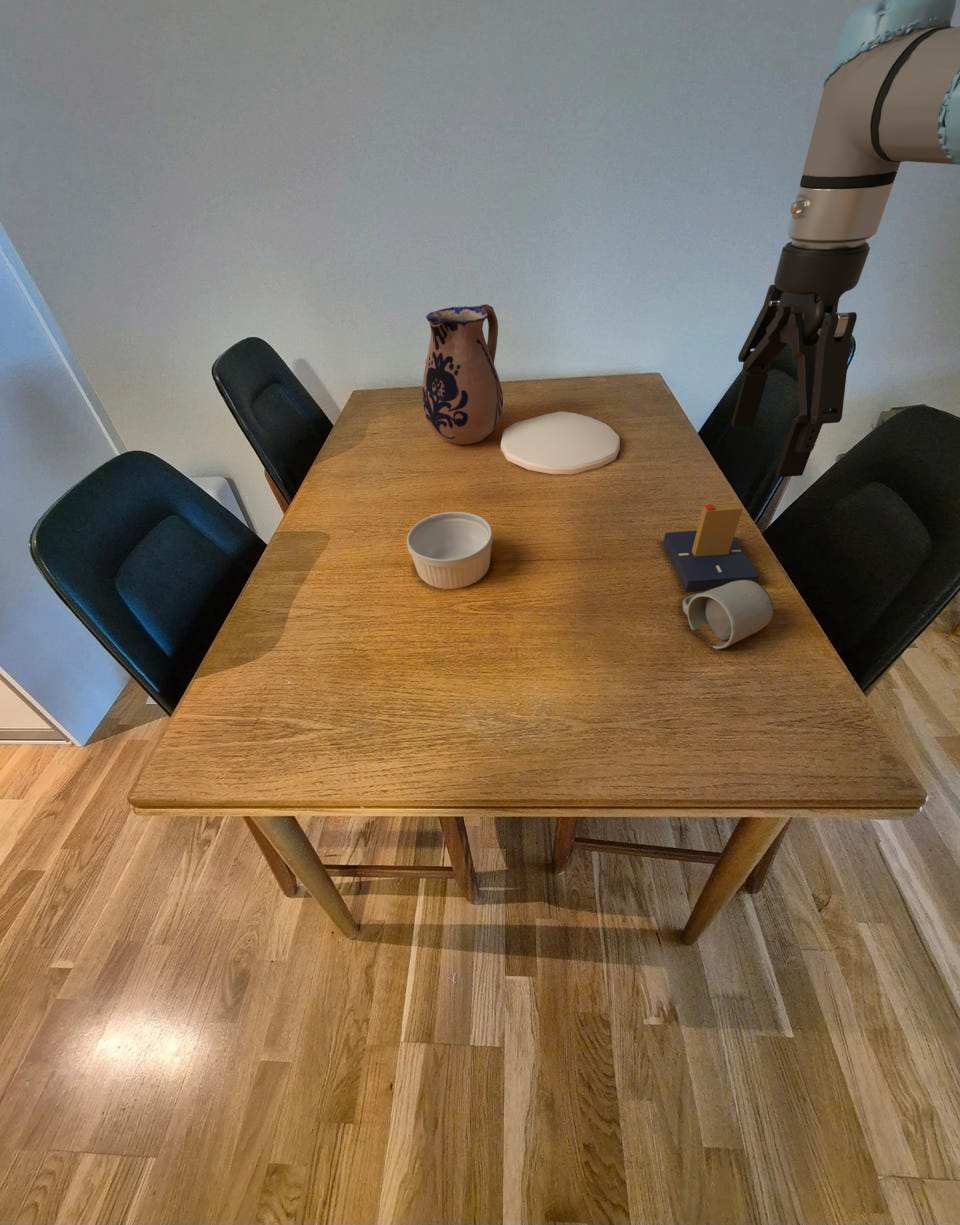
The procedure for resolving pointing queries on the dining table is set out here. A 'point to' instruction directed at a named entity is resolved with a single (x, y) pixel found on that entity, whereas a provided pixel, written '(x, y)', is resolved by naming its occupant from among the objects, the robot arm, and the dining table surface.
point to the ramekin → (451, 549)
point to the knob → (716, 529)
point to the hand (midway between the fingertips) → (763, 448)
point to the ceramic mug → (730, 610)
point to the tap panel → (706, 564)
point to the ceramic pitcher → (462, 374)
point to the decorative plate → (560, 443)
